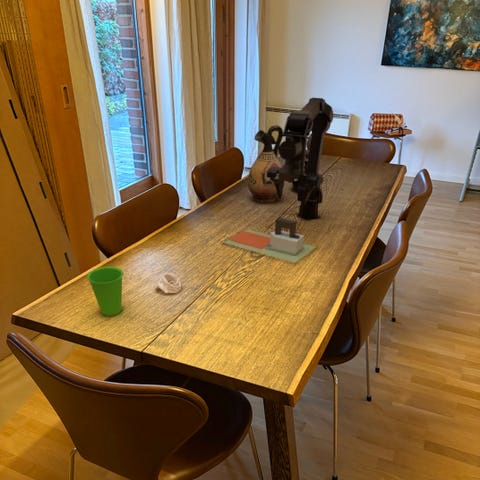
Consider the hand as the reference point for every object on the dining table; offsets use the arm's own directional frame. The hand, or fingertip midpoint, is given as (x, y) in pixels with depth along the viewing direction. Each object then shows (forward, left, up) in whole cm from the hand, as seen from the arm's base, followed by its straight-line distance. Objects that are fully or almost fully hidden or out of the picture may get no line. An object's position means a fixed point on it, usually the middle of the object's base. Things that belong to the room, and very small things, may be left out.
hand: (291, 201), depth 163 cm
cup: (+70, +25, -13) cm, 75 cm away
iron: (+8, +11, -12) cm, 18 cm away
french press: (-31, -43, -13) cm, 55 cm away
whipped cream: (+52, +20, -13) cm, 57 cm away
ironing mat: (+11, +5, -13) cm, 18 cm away
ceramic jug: (-11, -38, -13) cm, 42 cm away
